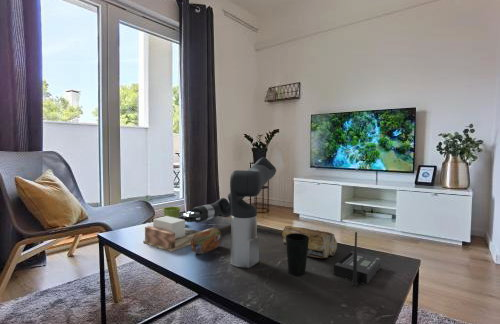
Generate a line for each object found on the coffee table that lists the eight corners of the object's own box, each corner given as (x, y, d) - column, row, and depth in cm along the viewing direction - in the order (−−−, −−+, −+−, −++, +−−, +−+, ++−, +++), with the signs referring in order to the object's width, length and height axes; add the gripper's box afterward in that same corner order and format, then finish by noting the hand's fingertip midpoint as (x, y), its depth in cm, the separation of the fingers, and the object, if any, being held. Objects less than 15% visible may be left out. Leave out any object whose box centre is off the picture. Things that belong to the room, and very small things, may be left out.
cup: (303, 279, 88) (303, 242, 88) (281, 273, 92) (281, 237, 92) (311, 270, 95) (312, 235, 94) (290, 265, 99) (291, 231, 98)
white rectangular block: (184, 236, 120) (184, 219, 120) (172, 240, 114) (171, 223, 114) (166, 231, 127) (166, 215, 126) (153, 234, 121) (153, 219, 121)
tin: (194, 257, 106) (195, 235, 105) (189, 255, 107) (189, 233, 107) (222, 246, 117) (222, 226, 117) (216, 244, 119) (216, 225, 119)
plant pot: (162, 222, 153) (162, 207, 152) (180, 221, 155) (180, 206, 155) (162, 227, 144) (162, 210, 143) (181, 226, 146) (181, 209, 146)
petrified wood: (278, 250, 113) (281, 225, 114) (294, 248, 123) (296, 225, 124) (323, 261, 100) (326, 232, 102) (337, 258, 110) (339, 232, 112)
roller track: (207, 238, 128) (207, 223, 127) (171, 251, 110) (171, 234, 110) (180, 231, 138) (180, 217, 137) (143, 242, 120) (143, 227, 120)
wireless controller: (346, 260, 105) (347, 215, 104) (386, 270, 97) (387, 221, 96) (323, 279, 90) (324, 226, 89) (368, 293, 81) (370, 235, 80)
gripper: (193, 204, 141) (165, 210, 127) (213, 207, 133) (185, 214, 119) (193, 218, 141) (165, 226, 127) (213, 222, 134) (186, 231, 119)
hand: (175, 220), depth 123 cm, fingers closed
